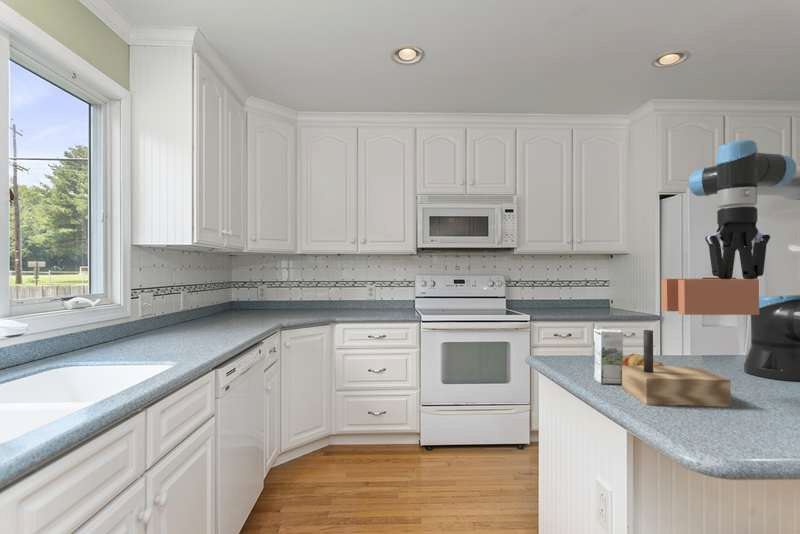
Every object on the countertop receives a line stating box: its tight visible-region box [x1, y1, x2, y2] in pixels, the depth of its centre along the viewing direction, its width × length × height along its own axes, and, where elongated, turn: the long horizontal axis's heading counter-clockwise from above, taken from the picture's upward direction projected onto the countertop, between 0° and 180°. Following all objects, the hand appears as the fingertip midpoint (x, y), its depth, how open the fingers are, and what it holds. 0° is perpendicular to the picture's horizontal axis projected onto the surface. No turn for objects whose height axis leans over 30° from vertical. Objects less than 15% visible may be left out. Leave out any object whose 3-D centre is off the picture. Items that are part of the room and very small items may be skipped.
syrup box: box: [593, 327, 624, 385], centre depth 116 cm, size 6×6×14 cm
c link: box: [661, 277, 760, 316], centre depth 102 cm, size 16×10×8 cm, turn 85°
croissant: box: [623, 353, 665, 366], centre depth 121 cm, size 21×10×8 cm, turn 36°
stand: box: [621, 329, 732, 408], centre depth 103 cm, size 18×13×16 cm
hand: (737, 306), depth 101 cm, fingers closed on c link, 2 cm apart
